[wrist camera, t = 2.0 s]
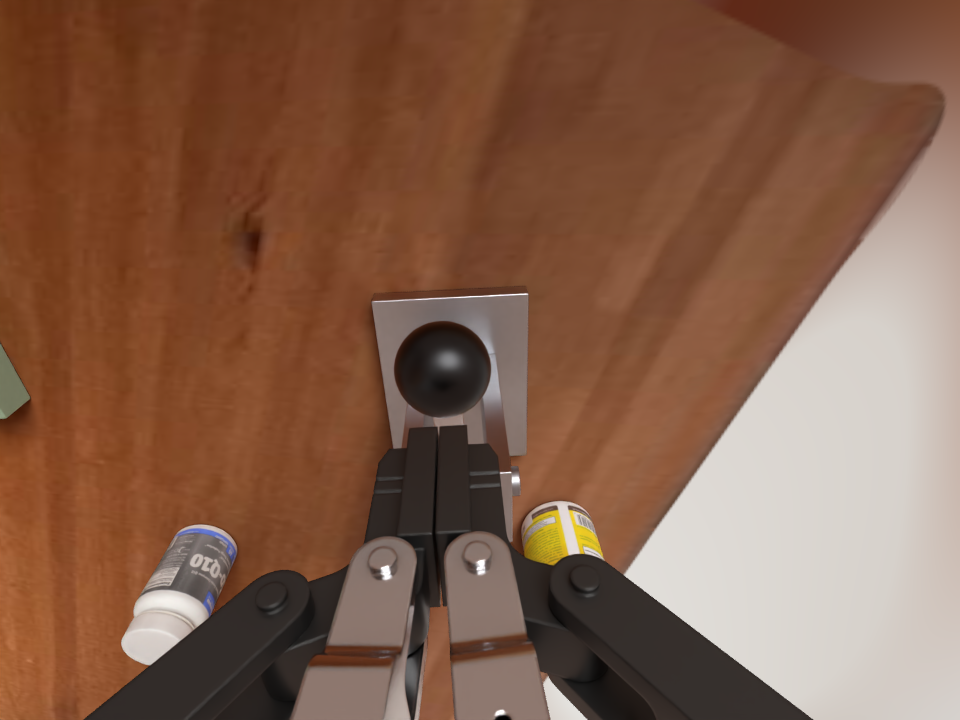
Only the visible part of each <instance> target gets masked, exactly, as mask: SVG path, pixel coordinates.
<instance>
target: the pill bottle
mask: <svg viewBox="0 0 960 720" xmlns="http://www.w3.org/2000/svg"><path fill="white" fill-rule="evenodd" d="M236 555H237V545H236V543H235V541H234V540H233V539H232V537H231V536H230V535H229V534H228V533H226V532H225V531H223V530H222V529H219V528H217V527H214V526H210V525H201V524H200V525H192V526H188V527H185V528H183V529H181V530H180V531H179V532H178V533H177V534H176V535H175V537H174V538H173V540H172V542H171V543H170V545H169V547H168V549H167V550H166V552H165V554H164V556H163V557H162V559H161V561H160V563H159V564H158V566H157V568H156V569H155V571H154V573H153V574H152V576H151V578H150V579H149V581H148V583H147V585H146V586H145V588H144V590H143V591H142V593H141V595H140V596H139V598H138V600H137V601H136V603H135V606H134V619H133V620H132V622H131V623H130V625H129V627H128V629H127V631H126V633H125V634H124V636H123V638H122V641H121V645H122V648H123V650H124V651H125V653H126V654H127V655H128V656H129V657H131V658H132V659H134V660H136V661H138V662H140V663H143V664H146V665H151V664H152V663H154V662H155V661H156V660H157V659H159V658H160V657H161V656H162V655H163V654H165V653H166V652H167V651H168V650H170V649H171V648H172V647H173V646H175V645H176V644H177V643H178V642H179V641H181V640H182V639H183V638H184V637H186V636H187V635H188V634H189V633H191V632H192V631H193V630H194V629H195V628H197V627H198V626H199V625H200V624H202V623H203V622H204V621H205V620H206V619H208V618H209V617H210V616H211V613H212V611H213V609H214V606H215V604H216V602H217V599H218V597H219V595H220V593H221V590H222V588H223V586H224V583H225V581H226V579H227V576H228V574H229V572H230V569H231V567H232V565H233V563H234V560H235V558H236Z"/></svg>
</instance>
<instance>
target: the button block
mask: <svg viewBox="0 0 960 720" xmlns="http://www.w3.org/2000/svg"><path fill="white" fill-rule="evenodd" d="M29 399H30V396H29V394H28V392H27V391H26V389H25V387H24V385H23V383H22V382H21V380H20V378H19V376H18V374H17V373H16V371H15V369H14V367H13V365H12V364H11V362H10V360H9V358H8V356H7V355H6V353H5V351H4V349H3V347H2V345H1V344H0V419H6V418H7V417H9V416H10V415H11V414H12V413H14V412H15V411H16V410H17V409H18V408H20V407H21V406H22V405H23V404H24V403H26V402H27V401H28V400H29Z"/></svg>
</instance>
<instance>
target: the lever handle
mask: <svg viewBox="0 0 960 720" xmlns="http://www.w3.org/2000/svg"><path fill="white" fill-rule="evenodd" d="M394 377H395V382H396V385H397V388H398V390H399V392H400V394H401V396H402V397H403V398H404V400H405V401H406V402H407V403H408V404H409V405H410V406H411V407H412V408H414V409H415V410H417V411H418V412H420V413H422V414H424V415H427V416H430V417H433V422H434V427H435V426H437V427H438V433H439V427H440V426H452V425H464V415H463V413H465V412H467V411H468V410H470V409H471V408H473V407H474V406H475V405H476V404H477V403H478V402H479V401H480V400H481V399H482V397H483V396H484V394H485V392H486V390H487V388H488V385H489V382H490V377H491V361H490V357H489V354H488V351H487V348H486V347H485V345H484V343H483V342H482V340H481V339H480V338H479V337H478V335H476V334H475V333H474V332H473V331H472V330H470V329H469V328H467V327H465V326H463V325H461V324H459V323H455V322H451V321H435V322H430V323H427V324H424V325H422V326H420V327H418V328H416V329H415V330H413V331H412V332H411V333H410V334H409V335H408V336H407V337H406V338H405V339H404V341H403V342H402V343H401V345H400V347H399V349H398V351H397V354H396V357H395V362H394Z"/></svg>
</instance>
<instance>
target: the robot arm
mask: <svg viewBox="0 0 960 720" xmlns="http://www.w3.org/2000/svg"><path fill="white" fill-rule="evenodd" d="M441 589H442V599H443V606H447V611H448V624H449V638H450V661H451V675H452V689H453V703H454V717H455V720H550V715H549V710H548V706H547V701H546V696H545V692H544V687H543V683H542V678H541V673H540V671H541V672H544V673H547V674H548V676H549V678H550V680H551V681H552V683H553V684H554V685H555V686H556V687H557V688H558V689H559V691H561V693H562V694H563V695H564V696H565V697H566V698H567V699H568V700H569V701H570V702H571V703H572V704H573V705H574V706H575V707H576V708H577V709H578V710H579V711H580V712H581V713H582V714H583V715H584V716H585V717H586V718H587V719H588V720H813V719H811V718H810V717H809V716H808V715H806V714H805V713H804V712H802V711H801V710H800V709H798V708H797V707H796V706H795V705H793V704H792V703H791V702H789V701H788V700H787V699H785V698H784V697H783V696H781V695H780V694H779V693H777V692H776V691H775V690H774V689H772V688H771V687H770V686H768V685H767V684H766V683H764V682H763V681H762V680H760V679H759V678H758V677H757V676H755V675H754V674H753V673H751V672H750V671H749V670H747V669H746V668H745V667H743V666H742V665H741V664H739V663H738V662H737V661H735V660H734V659H733V658H732V657H730V656H729V655H728V654H726V653H725V652H724V651H722V650H721V649H720V648H718V647H717V646H716V645H714V644H713V643H712V642H711V641H709V640H708V639H707V638H705V637H704V636H703V635H701V634H700V633H699V632H697V631H696V630H695V629H693V628H692V627H691V626H690V625H688V624H687V623H685V622H684V621H683V620H682V619H680V618H679V617H678V616H676V615H675V614H674V613H672V612H671V611H670V610H668V609H667V608H666V607H665V606H663V605H662V604H661V603H659V602H658V601H657V600H655V599H654V598H653V597H651V596H650V595H649V594H647V593H646V592H644V591H643V590H642V589H641V588H640V587H638V586H637V585H636V584H634V583H633V582H632V581H630V580H629V579H628V578H626V577H625V576H624V575H623V574H621V573H620V572H619V571H617V570H616V569H615V568H613V567H612V566H611V565H609V564H608V563H607V562H605V561H604V560H602V559H600V558H598V557H595V556H592V555H588V554H572V555H568V556H566V557H563V558H562V559H560V560H559V561H558V562H557V563H556V564H555V565H549V564H545V563H541V562H537V561H533V560H531V559H528V558H526V557H524V556H523V555H521V554H520V553H519V552H517V551H516V550H515V549H514V548H513V546H512V545H511V543H510V542H509V540H508V537H507V532H506V524H505V515H504V506H503V497H502V487H501V478H500V469H499V460H498V455H497V454H496V453H495V451H494V450H493V449H492V447H491V446H490V445H489V443H483V444H468V430H467V425H452V426H440V427H439V433H438V427H437V426H435V427H417V428H409V432H408V441H407V448H395V449H389V450H388V451H387V453H386V454H385V455H384V457H383V458H382V459H381V461H380V462H379V464H378V470H377V475H376V482H375V486H374V494H373V497H372V502H371V508H370V513H369V519H368V524H367V530H366V535H365V541H364V545H362V546H361V547H360V548H359V549H358V550H357V551H356V552H355V553H354V555H353V557H352V558H351V561H350V564H349V565H347V566H346V567H344V568H343V569H341V570H339V571H337V572H335V573H333V574H330V575H327V576H324V577H321V578H319V579H316V580H313V581H310V582H308V581H307V580H306V578H305V577H304V576H303V575H301V574H300V573H298V572H295V571H291V570H279V571H274V572H270V573H268V574H265V575H263V576H261V577H259V578H258V579H256V580H255V581H253V582H252V583H251V584H249V585H248V586H247V587H246V588H245V589H243V590H242V591H241V592H240V593H238V594H237V595H236V596H235V597H234V598H232V599H231V600H230V601H229V602H227V603H226V604H225V605H224V606H222V607H221V608H220V609H219V610H218V611H216V612H215V613H214V614H213V615H211V616H210V617H209V618H208V619H206V620H205V621H204V622H203V623H202V624H200V625H199V626H198V627H197V628H195V629H194V630H193V631H192V632H191V633H189V634H188V635H187V636H186V637H184V638H183V639H182V640H181V641H179V642H178V643H177V644H176V645H175V646H173V647H172V648H171V649H170V650H168V651H167V652H166V653H165V654H163V655H162V656H161V657H160V658H159V659H157V660H156V661H155V662H154V663H152V664H151V665H150V666H149V667H148V668H146V669H145V670H144V671H143V672H141V673H140V674H139V675H138V676H136V677H135V678H134V679H133V680H132V681H130V682H129V683H128V684H127V685H125V686H124V687H123V688H122V689H120V690H119V691H118V692H117V693H116V694H114V695H113V696H112V697H111V698H109V699H108V700H107V701H106V702H105V703H103V704H102V705H101V706H100V707H98V708H97V709H96V710H95V711H93V712H92V713H91V714H90V715H89V716H87V717H86V718H85V719H84V720H419V713H420V705H421V696H422V688H423V680H424V672H425V663H426V655H427V647H428V635H427V634H428V630H429V613H430V607H440V600H441Z"/></svg>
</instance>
